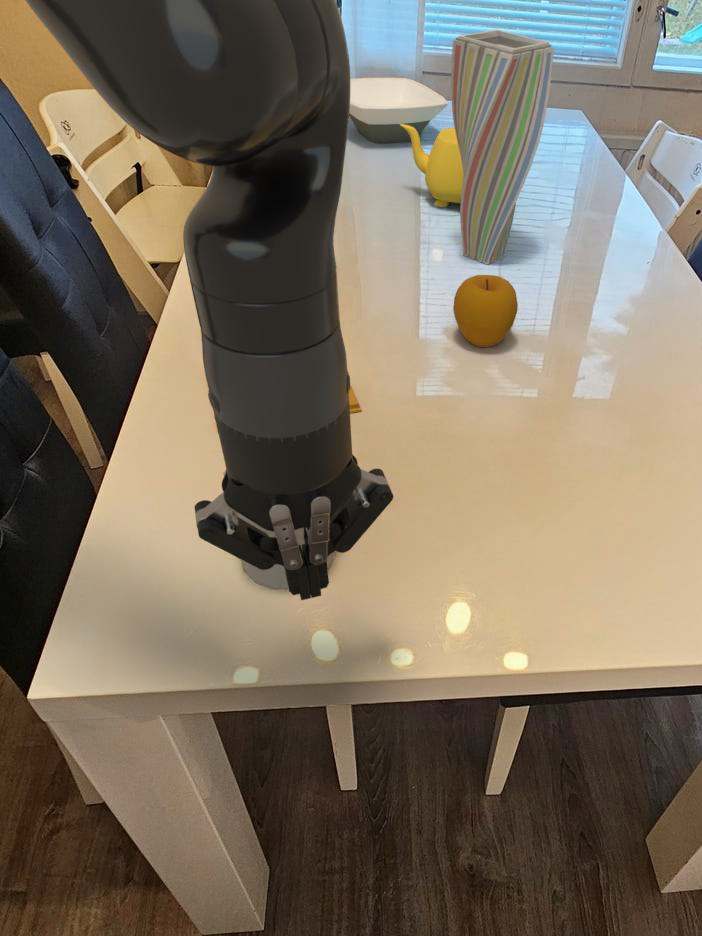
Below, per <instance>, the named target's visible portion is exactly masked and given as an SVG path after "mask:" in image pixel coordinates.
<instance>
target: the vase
mask: <svg viewBox="0 0 702 936" xmlns="http://www.w3.org/2000/svg"><path fill="white" fill-rule="evenodd" d="M451 49H452V50H451V63H450V64H451V67H450V69H451V71H450V74H451V75H450V89H451V90H450V92H451V93H450V94H451V111H452V112H451V113H452V119H453V125H454V126H453V128H455V132H456V137H457V142H458V146H459V151H460V155H461V159H462V166H463V189H462V195H461V203H460V207H459V213H460V214H459V215H460V216H459V221H460V233H461V242H462V249H463V252H462V253H463V254H462V255H463V256H465V257H466V258H470V259H472V260H475V261H477V262H479V263H482V264H484V265H487V266H489V265H490V264H492V263H495V262H496V260H497V261H498V260H499V259H501V258H504V257H505V256H506V251H507V250H506V249H507V245H508V242H509V239H510V235H511V230H512V227H513V221H514V217H515V211H516V206H517V200H518V198H519V196H520V194H521V192H522V189H523V187H524V185H525V182H526V180H527V177H528V175H529V172H530V171H531V168H532V165H533V163H534V159H535V156H536V153H537V150H538V147H539V144H540V140H541V138H542V137H541V136H542V133H543V130H544V124H545V119H546V114H547V108H548V102H549V95H550V91H551V82H552V81H551V80H552V73H553V72H552V71H553V64H554V63H553V62H554V52H555V51H554V50H555V49H554V46H552V44H550V42H549V41H545V40H541V39H536V38H533V37H528V36H524V35H521V34H516V33H512V32H508V31H503V30H500V29H491V30H487V31H485V30H484V31H479V32H474V33H468V34H463V35H458V37H455V39H452V47H451Z"/></svg>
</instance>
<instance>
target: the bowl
mask: <svg viewBox="0 0 702 936" xmlns="http://www.w3.org/2000/svg"><path fill="white" fill-rule="evenodd" d="M350 84H351V89H350V111H349V119H350V120H351V122H352V123H353V125H354V126H355V128H356V130H357V131H358V132H359V133H360V134H361V135H362V136H363V137H364V138H366V139H367V140H368V141H370V142H372V143H375V144H393V143H396V144H397V143H404V142H411V138H410V136H409V134H408V132H407V131H406V130H405V129H404V128H403V127H402V126H401V125H400V124H405V125H409V126H412V127H414V128H415V129H416V130H417V132H418V134H419V136H420V135H421V133H422V132H423V131H424V130H425V128H426V127H427V126H428V125H429V123H430V122H432V120H434V119H435V118H436V117H437V116H438V115H439V114H440V113H441V112H442V111H443V110H444V109H445V108H446V107H447V106H448V105H449V101H447V100H446V98H445V97H444V96H442V95H441V94H439V93H437V92H436V91H435V90H433V89H431V88H430V87H427V86H426V85H424V84H422V83H420V82H418V81H416V80H413V79H411V78H408V77H361V78H360V77H358V78H350Z"/></svg>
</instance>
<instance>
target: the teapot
mask: <svg viewBox="0 0 702 936" xmlns="http://www.w3.org/2000/svg"><path fill="white" fill-rule="evenodd" d="M400 125H401V126H402V127H403V128H404V129H405V130H406V131H407V132H408V134H409V136H410V138H411V141H410V142H411V147H412V156H413V160H414V163H415V165H416V168H417V169H418V170H419V171H420V172H421V173H422V174H424V181H425V185H426V187H427V190H428V192H429V193H430V195H431V197H432V198H434V199H435V201H434V205H435V206H436V207H438V208H446V207H448V206H449V205H450V203H455V204H461V195H462V189H463V166H462V159H461V155H460V151H459V146H458V142H457V137H456V132H455V127H447V128H443V129H442V130H441V131H439V133H438V134H437V136H436V138H435V139H434V142H433V145H432V147H431V149H430V152H429V154H427V153H426V152H425V151H424V149H423V148H422V144H421V138H420V135H419V134H418V132H417V130H416V129H415V128H414V127H412V126H409V125H405V124H400Z"/></svg>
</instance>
